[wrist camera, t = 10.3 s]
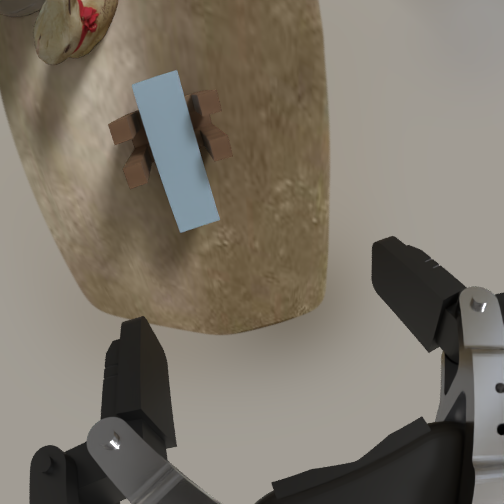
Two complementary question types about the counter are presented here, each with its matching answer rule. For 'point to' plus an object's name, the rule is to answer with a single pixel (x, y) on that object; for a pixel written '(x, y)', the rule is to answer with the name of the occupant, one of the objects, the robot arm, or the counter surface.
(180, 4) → the counter surface
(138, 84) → the rail
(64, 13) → the chocolate bunny
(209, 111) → the wooden stool base
